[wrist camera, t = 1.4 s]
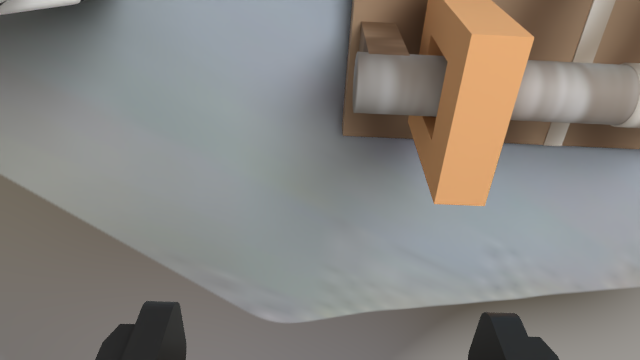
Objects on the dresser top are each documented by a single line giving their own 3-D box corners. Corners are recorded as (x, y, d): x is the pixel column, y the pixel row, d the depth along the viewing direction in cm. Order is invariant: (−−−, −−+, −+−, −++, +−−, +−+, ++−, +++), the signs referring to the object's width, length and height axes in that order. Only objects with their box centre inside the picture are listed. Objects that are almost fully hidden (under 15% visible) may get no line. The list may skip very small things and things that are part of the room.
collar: (476, -14, 26) (534, 37, 19) (446, 123, 30) (484, 205, 23) (430, -16, 26) (471, 34, 18) (407, 121, 30) (434, 203, 23)
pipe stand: (749, -49, 27) (900, -14, 20) (656, 139, 34) (745, 215, 27) (358, -70, 27) (371, -43, 20) (342, 125, 33) (347, 198, 26)
